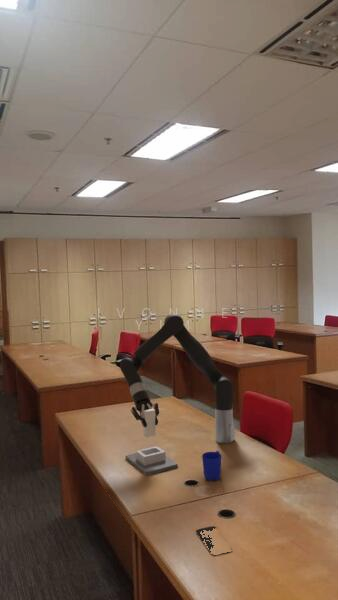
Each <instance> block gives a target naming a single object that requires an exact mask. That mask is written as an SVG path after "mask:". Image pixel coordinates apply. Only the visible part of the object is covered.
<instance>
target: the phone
mask: <svg viewBox="0 0 338 600" xmlns="http://www.w3.org/2000/svg"><path fill="white" fill-rule="evenodd" d="M213 528H214V529H215V528H217V527H216V526H215V525H214V526H213V525H212V526H208V527H202V528H198V529H196V531H195V533H196V532H197V533H198V535H199V536H200V538H201V539H202V541H204V539H205V542H206V544H207V545H206V546H208V548H209V550H210V549H211V547H212V548H213V546H214V545H212V543H211V542H212V541H211V540H210V539H212V538H210V537H209V535H208V537H209V538H206V537H204V538H202V535H201V534H200V532H201V531H202V533H203V532H204V531H203V530H206V531H209V530H210V531H212V530H213ZM197 533H196V534H197ZM198 535H197V536H198ZM203 535H205V534H203ZM199 536H198V537H199ZM200 538H199V539H200ZM201 539H200V540H201ZM206 540H209V541H210V542H209V541H206ZM202 541H201V542H202ZM210 543H211V544H210ZM204 544H205V543H204ZM204 544H203V545H204ZM210 552H211V551H210ZM210 552H209V553H210Z"/></svg>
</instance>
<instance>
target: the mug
mask: <svg viewBox="0 0 338 600" xmlns="http://www.w3.org/2000/svg"><path fill="white" fill-rule="evenodd" d="M201 458H202V466H203V467H202V469H203V476H204V479H205V480H207V481H210V482H214V481H218V480H220V479H221V472H222V454H221V453H220V451H219V450H216V451H206V452H204V453H202V455H201Z"/></svg>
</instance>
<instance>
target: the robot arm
mask: <svg viewBox="0 0 338 600" xmlns="http://www.w3.org/2000/svg"><path fill="white" fill-rule="evenodd" d="M184 324H185V323H184V319H183V318H182V317H181V316H180V315H178V314H174V313H173V314H169V315H167V316H165V318H164V321H163V325H162V326H161V328H160V329H159V330H158V331H157V332H156V333H154V334H153V335H152V336H150V338H148V339H147V340H146V341H144V342H143V343H142V344H141V345H139V346H138V348H137V349H135V350H134V352H133V354H134V357H133V358H132V359H131V358H130V357H124V358H122V359H121V360H120V362H119V368H120V371H121V373H122V375H123V376H124V378H125V380H126V383H127V385H128V388H129V391H130V392H129V393H130V395H131V397H132V398H131V399H132V400H133V403H134V406H133V407H131V409H130V413H131V414H132V415H133V417H134V419H135V420H136V421H140V422H141V425H142V428H143V427H147V423H146V421H145V418H144V415H143V410H149V409H154V410H155V426H158V423H159V420H158V417H159V415H160V409H159V408H160V407H159V403H157V402H155V403H152V402H151V399H150V396H149V394H148V392H147V389H146V386H145V385H144V382H143V380H142V377H141V376H140V375H139V373H138V372H139V370H140V369H141V367H142V366H143V365H144V363H145V362H146V360H147V359H148V358H149V357H151V356H152V354H154V353H155V352H156V350H158V349H159V348H160V347H161V346H162V345H163V344H164V343H165V342H166V341H168V340H169V339H170V338H172V337H174V338H175V339H176V340H177V342H178V343H179V344H180V347H181V348H182V349H183V351H184V352H185V354H186V355H187V357H188V358H189V360H190V361H191V362H192V363H193V364H194V365H195V367H196V368H197V369H198V370H199V371H200V372H201V373H203V375H205V377H206V378H207V380H208V381H209V383H210V384H211V386H212V388H213V390H214V391H215V402H214V421H215V423H214V426H215V430H214V431H215V433H214V434H215V441H216V443H219V444H233V442H234V441H235V438H236V437H235V421H234V414H233V413H234V410H233V409H234V407H233V406H234V399H235V397H234V396H235V395H234V394H235V391H234V384H233V382H232V381H231V380H230V379H229V378H228V377H226V375H224V373H222V372H221V370H219V368H218V367H217V365H216V364H215V362H214V361H213V358H212V356H211V355H210V353H209V352H208V351H207V349H206V348H205V347H204V346H203V344H201V343H200V341H199V340H198V339H197V338H195V337H194V335H192V334H191V333H190V332H189V331H188V329H187V328H186V326H185V325H184ZM138 412H139V413H138Z"/></svg>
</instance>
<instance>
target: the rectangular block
mask: <svg viewBox="0 0 338 600" xmlns="http://www.w3.org/2000/svg"><path fill="white" fill-rule="evenodd" d="M143 415H144V418H145V421H146V423H147V427H143V426H142V428H143V437H145V438H150V437H155V436H156V435H157V434H156V428H157V427H156V425H155V410H154V409H153V408H152V409H149V410H143Z"/></svg>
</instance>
